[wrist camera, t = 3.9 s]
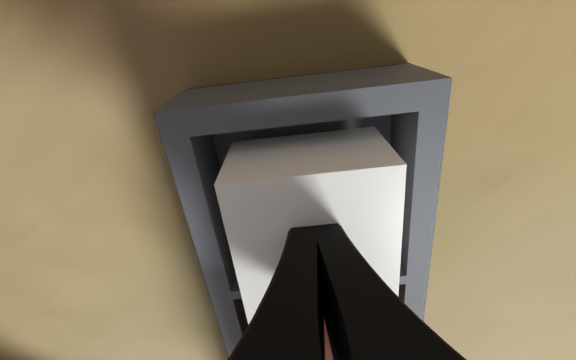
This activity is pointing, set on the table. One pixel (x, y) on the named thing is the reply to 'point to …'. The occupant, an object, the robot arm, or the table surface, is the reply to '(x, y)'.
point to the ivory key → (311, 200)
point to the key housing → (303, 120)
